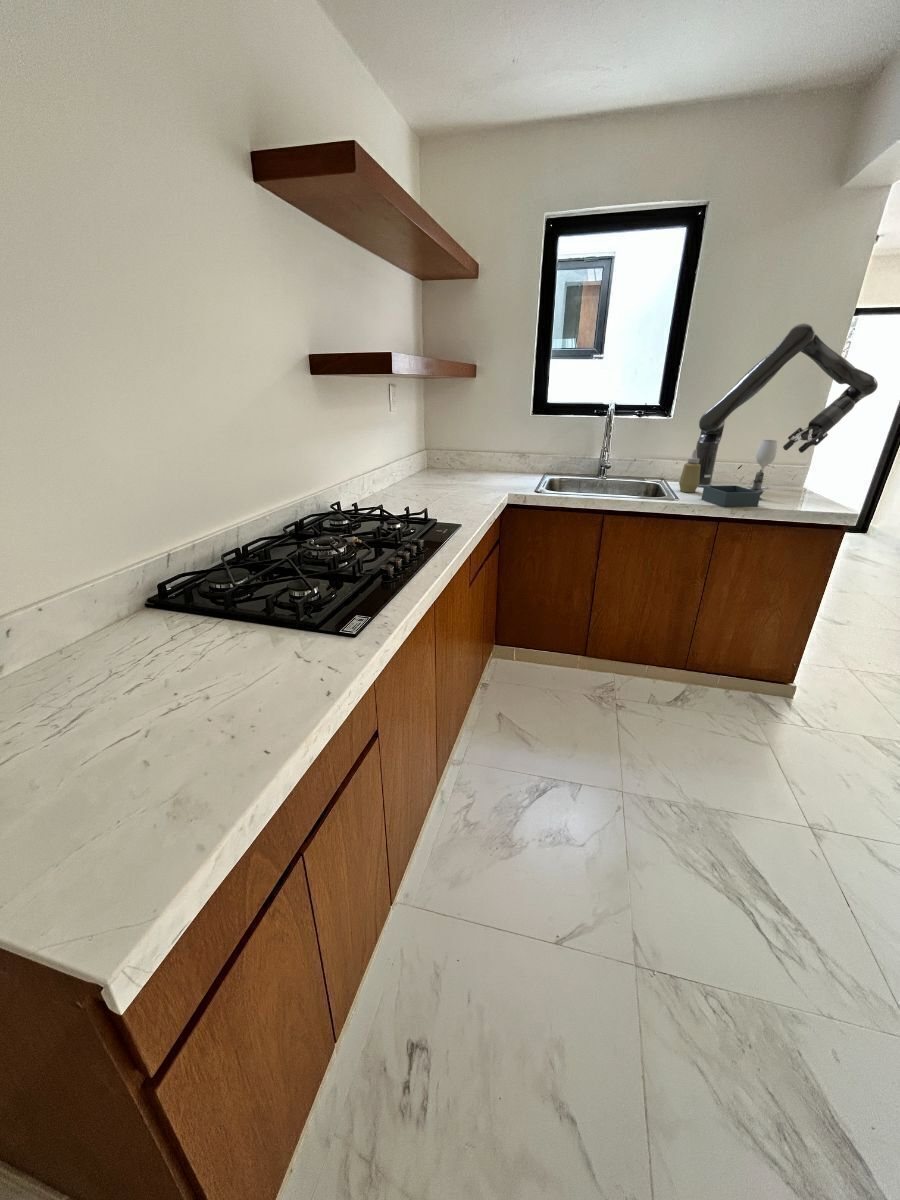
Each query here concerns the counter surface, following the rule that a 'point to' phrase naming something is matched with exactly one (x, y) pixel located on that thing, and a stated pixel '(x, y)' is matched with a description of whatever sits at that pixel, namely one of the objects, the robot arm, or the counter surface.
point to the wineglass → (766, 454)
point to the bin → (731, 496)
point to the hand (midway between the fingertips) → (792, 449)
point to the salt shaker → (758, 482)
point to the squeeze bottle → (690, 474)
